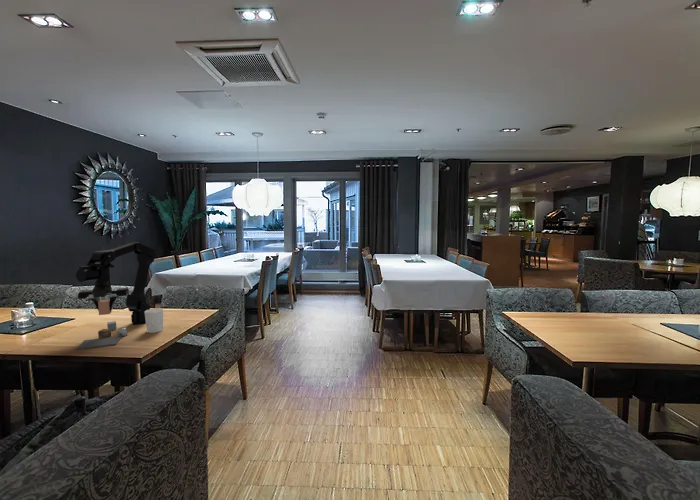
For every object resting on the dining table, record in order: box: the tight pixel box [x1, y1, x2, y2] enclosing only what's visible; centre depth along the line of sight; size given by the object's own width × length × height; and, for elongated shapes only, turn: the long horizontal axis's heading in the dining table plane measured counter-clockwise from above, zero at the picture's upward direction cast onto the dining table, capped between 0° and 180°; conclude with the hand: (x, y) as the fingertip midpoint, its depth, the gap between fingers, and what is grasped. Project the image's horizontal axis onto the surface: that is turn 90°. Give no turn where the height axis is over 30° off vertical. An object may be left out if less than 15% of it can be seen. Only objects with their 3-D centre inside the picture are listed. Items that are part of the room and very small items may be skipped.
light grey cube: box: [116, 326, 128, 338], centre depth 162 cm, size 4×4×4 cm
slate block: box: [106, 320, 118, 331], centre depth 171 cm, size 4×4×4 cm
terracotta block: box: [98, 299, 113, 316], centre depth 162 cm, size 4×4×6 cm
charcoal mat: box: [76, 335, 122, 351], centre depth 153 cm, size 14×10×1 cm
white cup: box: [145, 308, 164, 334], centre depth 169 cm, size 8×8×10 cm
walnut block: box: [97, 328, 112, 339], centre depth 160 cm, size 4×4×4 cm
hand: (105, 311), depth 162 cm, fingers closed on terracotta block, 4 cm apart
